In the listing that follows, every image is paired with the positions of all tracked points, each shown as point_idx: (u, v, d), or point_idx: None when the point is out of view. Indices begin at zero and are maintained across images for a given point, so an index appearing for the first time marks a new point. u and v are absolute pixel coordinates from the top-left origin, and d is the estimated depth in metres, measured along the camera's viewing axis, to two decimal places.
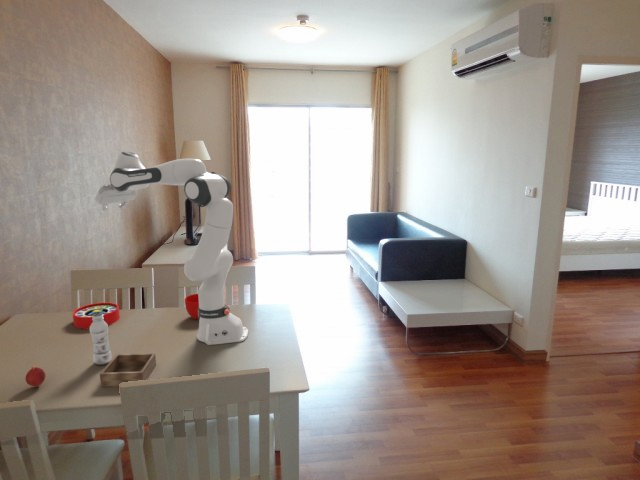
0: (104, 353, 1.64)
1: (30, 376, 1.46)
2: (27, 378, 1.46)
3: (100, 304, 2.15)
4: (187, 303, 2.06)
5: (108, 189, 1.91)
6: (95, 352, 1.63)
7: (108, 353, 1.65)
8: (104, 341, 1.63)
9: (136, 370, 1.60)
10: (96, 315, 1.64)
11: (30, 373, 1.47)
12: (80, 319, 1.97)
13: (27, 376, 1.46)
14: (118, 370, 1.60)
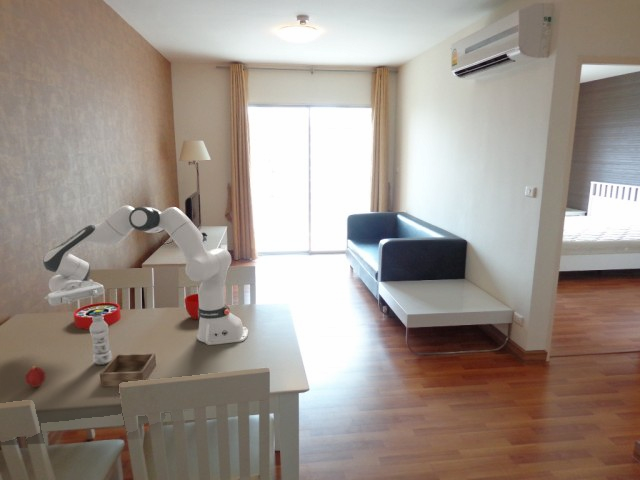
0: (104, 353, 1.64)
1: (30, 375, 1.46)
2: (27, 378, 1.46)
3: (101, 304, 2.15)
4: (187, 303, 2.06)
5: None
6: (95, 352, 1.63)
7: (108, 353, 1.65)
8: (104, 341, 1.63)
9: (136, 370, 1.60)
10: (96, 315, 1.64)
11: (30, 373, 1.47)
12: (81, 319, 1.97)
13: (27, 376, 1.46)
14: (118, 370, 1.60)
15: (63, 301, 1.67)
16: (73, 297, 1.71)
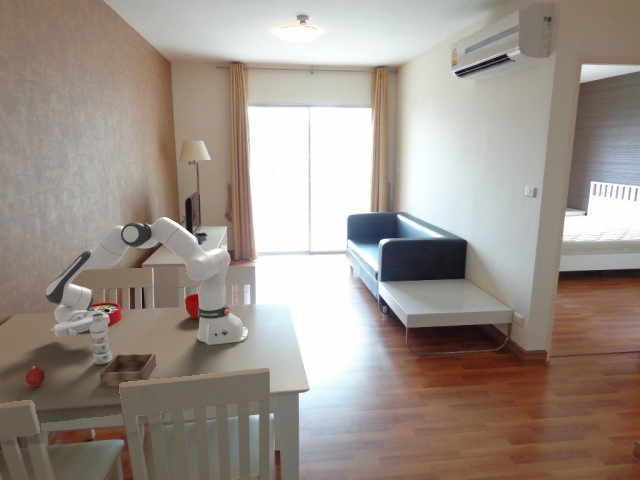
0: (104, 353, 1.64)
1: (30, 375, 1.46)
2: (27, 378, 1.46)
3: (102, 304, 2.15)
4: (187, 303, 2.06)
5: None
6: (95, 352, 1.63)
7: (108, 353, 1.65)
8: (104, 341, 1.63)
9: (136, 370, 1.60)
10: (96, 315, 1.64)
11: (30, 373, 1.47)
12: None
13: (27, 376, 1.46)
14: (118, 370, 1.60)
15: (69, 333, 1.68)
16: (79, 328, 1.73)
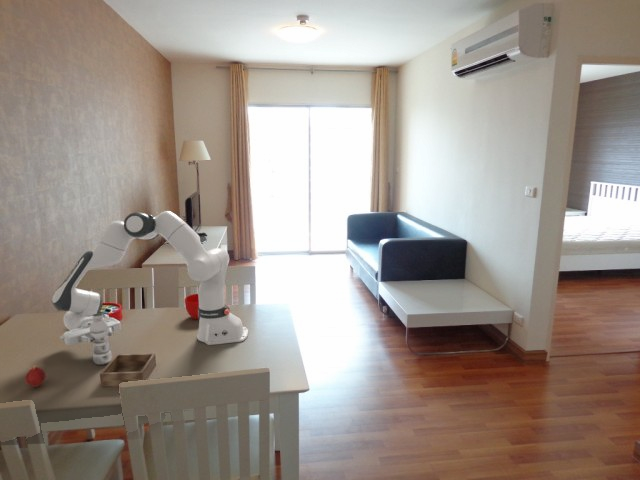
0: (104, 353, 1.64)
1: (30, 375, 1.46)
2: (27, 378, 1.46)
3: (103, 304, 2.16)
4: (187, 303, 2.06)
5: None
6: (95, 352, 1.63)
7: (108, 353, 1.65)
8: (104, 341, 1.63)
9: (136, 370, 1.60)
10: (96, 315, 1.64)
11: (30, 373, 1.47)
12: None
13: (27, 376, 1.46)
14: (118, 370, 1.60)
15: (83, 340, 1.62)
16: (90, 336, 1.66)
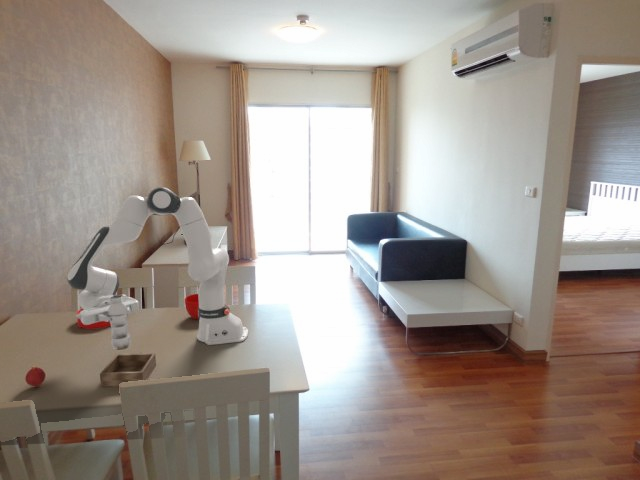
0: (124, 338, 1.55)
1: (30, 375, 1.46)
2: (27, 378, 1.46)
3: None
4: (187, 303, 2.06)
5: None
6: (114, 336, 1.54)
7: (128, 337, 1.56)
8: (124, 324, 1.54)
9: (136, 370, 1.60)
10: (114, 297, 1.54)
11: (30, 373, 1.47)
12: None
13: (27, 376, 1.46)
14: (118, 370, 1.60)
15: (100, 319, 1.52)
16: (107, 315, 1.56)
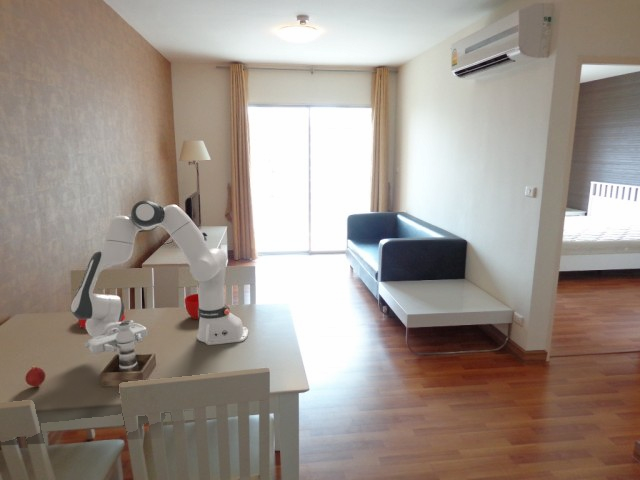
0: (132, 364, 1.55)
1: (30, 376, 1.46)
2: (27, 378, 1.46)
3: None
4: (187, 303, 2.06)
5: None
6: (122, 363, 1.53)
7: (135, 364, 1.56)
8: (131, 351, 1.54)
9: None
10: (122, 324, 1.54)
11: (30, 373, 1.47)
12: (85, 319, 1.97)
13: (27, 376, 1.46)
14: (118, 370, 1.60)
15: (106, 349, 1.51)
16: (116, 343, 1.56)
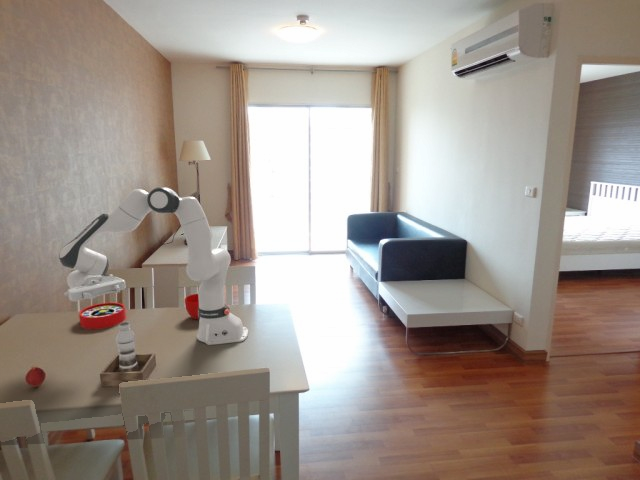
0: (132, 364, 1.55)
1: (30, 375, 1.46)
2: (27, 378, 1.46)
3: (107, 304, 2.15)
4: (187, 303, 2.06)
5: None
6: (122, 363, 1.53)
7: (135, 364, 1.56)
8: (131, 351, 1.54)
9: None
10: (122, 324, 1.54)
11: (30, 373, 1.47)
12: (86, 319, 1.97)
13: (27, 376, 1.46)
14: (118, 370, 1.60)
15: (84, 297, 1.58)
16: (94, 292, 1.63)
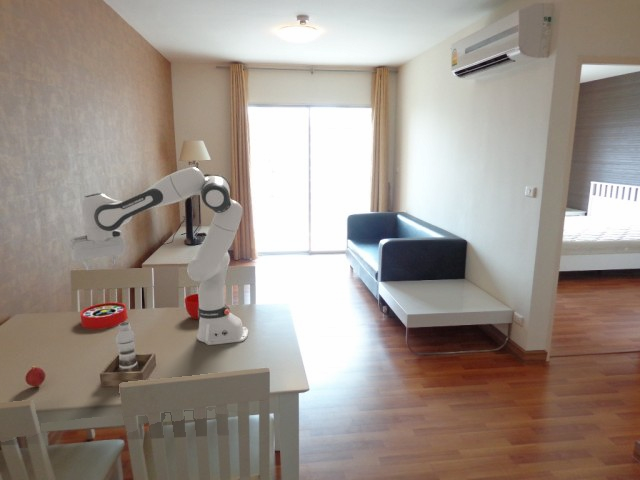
0: (132, 364, 1.55)
1: (30, 376, 1.46)
2: (27, 378, 1.46)
3: (108, 304, 2.15)
4: (187, 303, 2.06)
5: (80, 241, 1.64)
6: (122, 363, 1.53)
7: (135, 364, 1.56)
8: (131, 351, 1.54)
9: None
10: (122, 324, 1.54)
11: (30, 373, 1.47)
12: (88, 319, 1.97)
13: (27, 376, 1.46)
14: (118, 370, 1.60)
15: (83, 262, 1.67)
16: None
